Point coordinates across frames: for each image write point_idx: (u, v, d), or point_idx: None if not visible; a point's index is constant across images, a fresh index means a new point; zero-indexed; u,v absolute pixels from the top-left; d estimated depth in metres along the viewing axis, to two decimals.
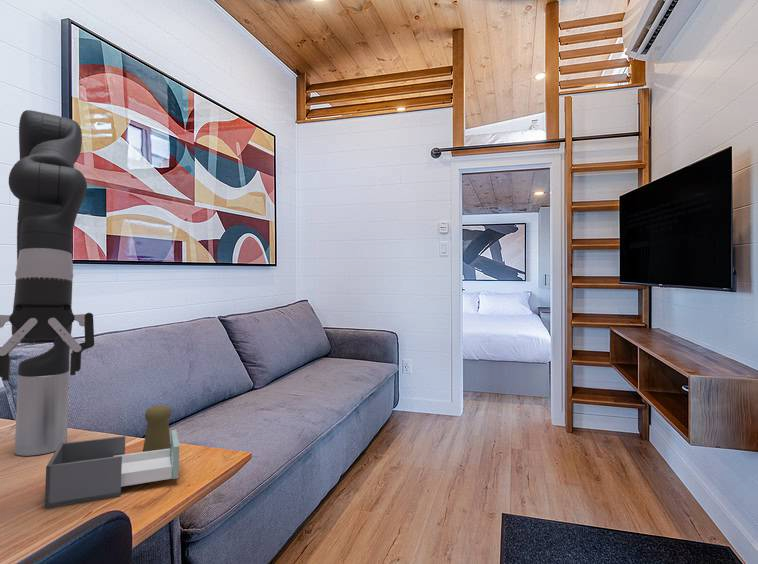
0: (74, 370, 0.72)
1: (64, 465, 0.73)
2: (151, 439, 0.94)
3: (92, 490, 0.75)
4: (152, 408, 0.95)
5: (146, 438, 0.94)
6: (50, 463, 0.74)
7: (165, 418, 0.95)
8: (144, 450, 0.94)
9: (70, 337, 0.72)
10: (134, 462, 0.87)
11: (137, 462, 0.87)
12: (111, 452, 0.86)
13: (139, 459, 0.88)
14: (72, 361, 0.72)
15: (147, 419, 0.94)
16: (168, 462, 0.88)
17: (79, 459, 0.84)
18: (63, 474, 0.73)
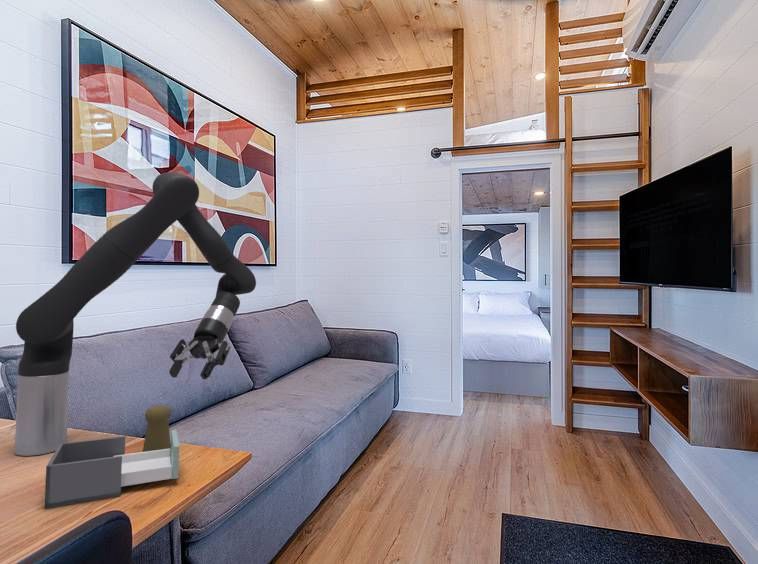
0: None
1: (64, 465, 0.73)
2: (151, 439, 0.94)
3: (92, 490, 0.75)
4: (152, 408, 0.95)
5: (146, 438, 0.94)
6: (50, 463, 0.74)
7: (165, 418, 0.95)
8: (144, 450, 0.94)
9: None
10: (134, 462, 0.87)
11: (137, 462, 0.87)
12: (111, 452, 0.86)
13: (139, 459, 0.88)
14: None
15: (147, 419, 0.94)
16: (168, 462, 0.88)
17: (79, 459, 0.84)
18: (63, 474, 0.73)
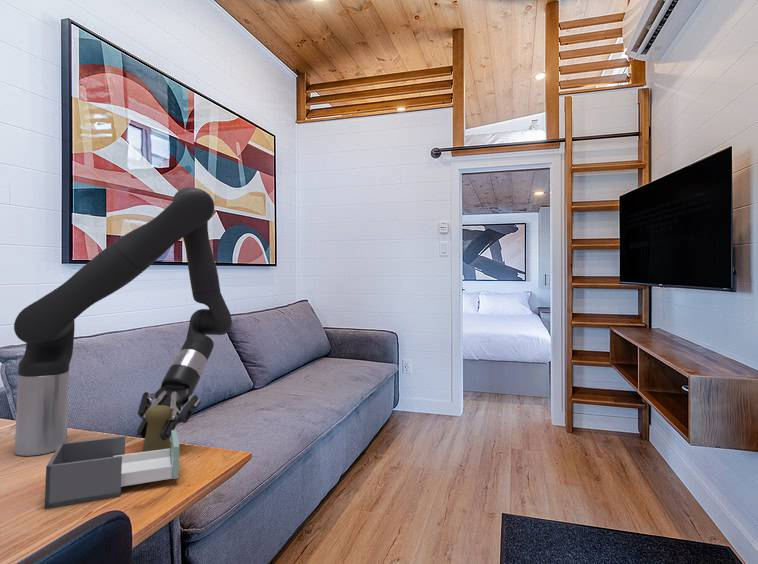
0: None
1: (64, 465, 0.73)
2: (151, 439, 0.94)
3: (92, 490, 0.75)
4: (152, 408, 0.95)
5: (146, 438, 0.94)
6: (50, 463, 0.74)
7: (165, 418, 0.95)
8: (144, 450, 0.94)
9: None
10: (134, 462, 0.87)
11: (137, 462, 0.87)
12: (111, 452, 0.86)
13: (139, 459, 0.88)
14: None
15: (147, 419, 0.94)
16: (168, 462, 0.88)
17: (79, 459, 0.84)
18: (63, 474, 0.73)
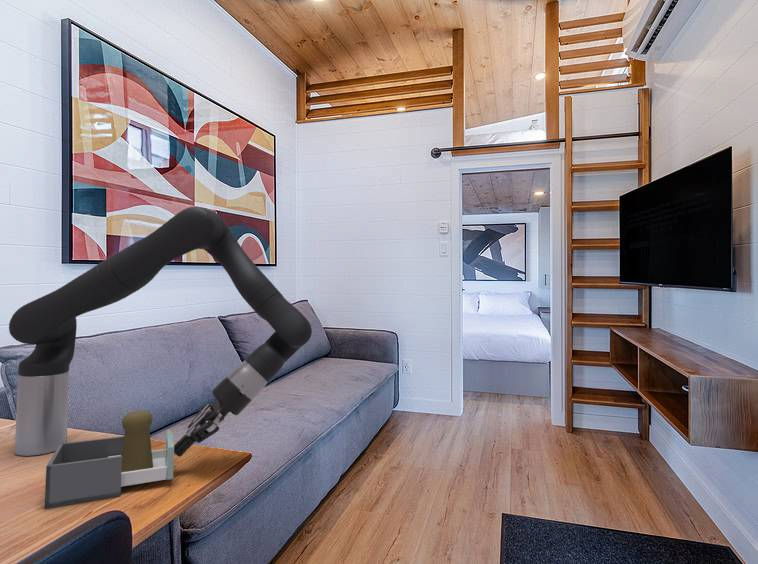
0: None
1: (64, 465, 0.73)
2: (129, 450, 0.82)
3: (92, 490, 0.75)
4: (130, 414, 0.83)
5: (123, 449, 0.82)
6: (50, 463, 0.74)
7: (146, 425, 0.83)
8: None
9: None
10: None
11: None
12: (111, 452, 0.86)
13: None
14: None
15: (124, 427, 0.82)
16: (163, 462, 0.87)
17: (79, 459, 0.84)
18: (63, 474, 0.73)
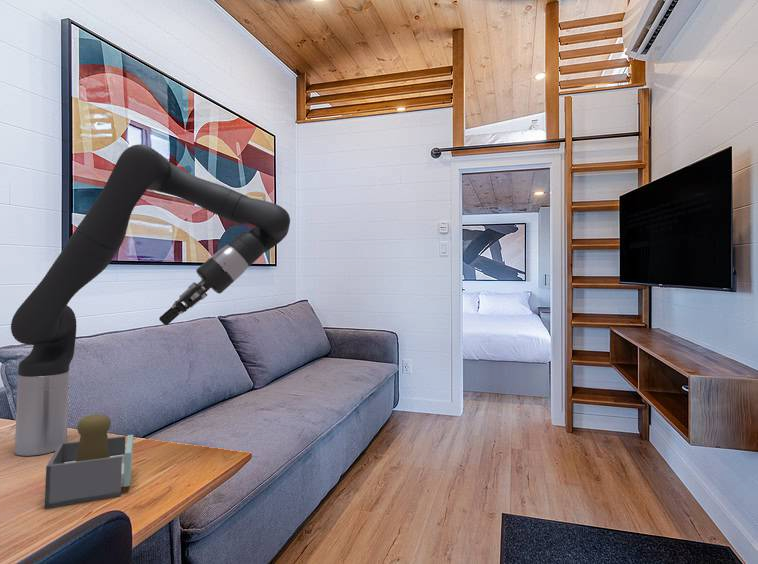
0: None
1: (64, 465, 0.73)
2: (84, 455, 0.78)
3: (92, 490, 0.75)
4: (86, 418, 0.80)
5: (78, 454, 0.79)
6: (50, 463, 0.74)
7: (102, 430, 0.80)
8: None
9: None
10: None
11: None
12: (111, 452, 0.86)
13: None
14: None
15: (79, 432, 0.79)
16: (122, 468, 0.84)
17: None
18: (63, 474, 0.73)
